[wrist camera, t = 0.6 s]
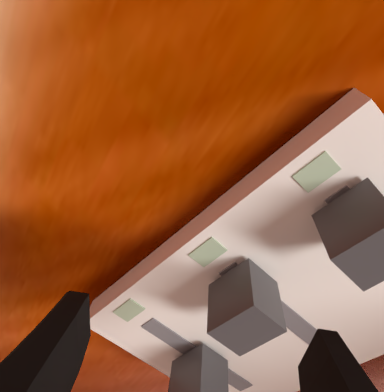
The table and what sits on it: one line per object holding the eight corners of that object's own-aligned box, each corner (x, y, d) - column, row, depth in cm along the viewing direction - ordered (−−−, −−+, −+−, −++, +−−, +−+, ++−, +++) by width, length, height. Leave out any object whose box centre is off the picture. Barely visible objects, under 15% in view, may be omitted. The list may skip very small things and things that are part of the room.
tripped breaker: (227, 360, 22) (229, 416, 19) (196, 376, 24) (193, 431, 21) (202, 343, 22) (199, 398, 19) (172, 360, 23) (165, 415, 20)
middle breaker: (277, 282, 18) (287, 331, 16) (237, 306, 20) (239, 356, 17) (248, 257, 18) (253, 305, 15) (208, 284, 19) (206, 333, 16)
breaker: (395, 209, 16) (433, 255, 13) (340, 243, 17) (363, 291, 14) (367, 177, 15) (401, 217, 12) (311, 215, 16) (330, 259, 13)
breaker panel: (496, 269, 20) (524, 296, 18) (234, 392, 28) (235, 418, 27) (354, 87, 15) (372, 99, 13) (92, 300, 24) (82, 325, 22)
